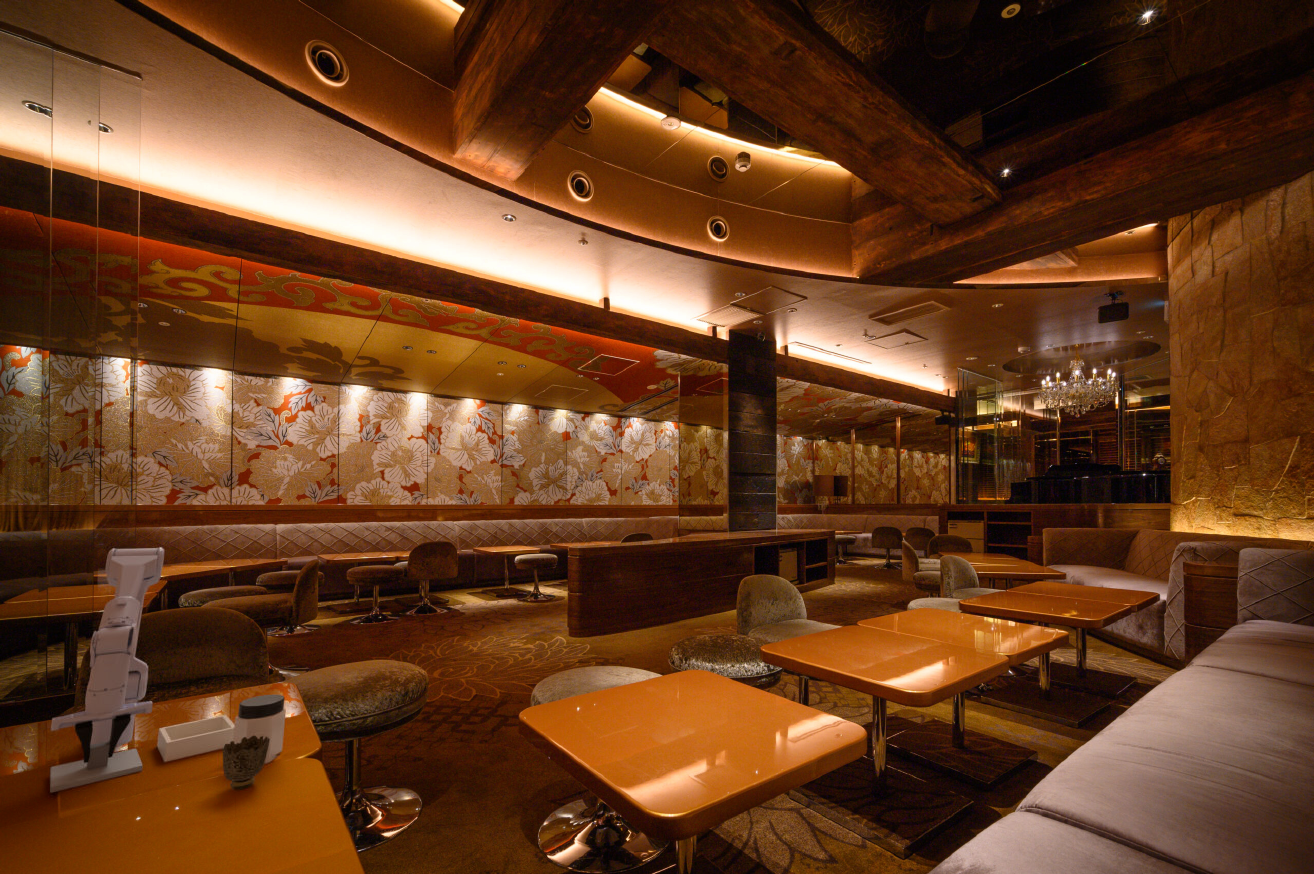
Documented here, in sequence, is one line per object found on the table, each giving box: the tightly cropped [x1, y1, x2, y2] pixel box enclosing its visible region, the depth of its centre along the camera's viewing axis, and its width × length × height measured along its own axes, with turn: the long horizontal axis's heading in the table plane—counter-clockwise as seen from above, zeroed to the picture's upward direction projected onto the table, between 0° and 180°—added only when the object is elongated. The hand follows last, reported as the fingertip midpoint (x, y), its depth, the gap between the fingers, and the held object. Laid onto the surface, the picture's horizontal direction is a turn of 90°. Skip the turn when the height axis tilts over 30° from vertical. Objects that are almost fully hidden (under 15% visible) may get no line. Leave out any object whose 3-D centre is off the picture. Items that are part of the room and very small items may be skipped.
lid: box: [49, 741, 143, 794], centre depth 113 cm, size 13×13×5 cm
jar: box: [233, 694, 287, 765], centre depth 121 cm, size 9×8×12 cm
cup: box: [222, 735, 270, 791], centre depth 108 cm, size 8×7×8 cm
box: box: [156, 714, 235, 763], centre depth 125 cm, size 12×12×4 cm
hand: (97, 758), depth 112 cm, fingers closed on lid, 3 cm apart
